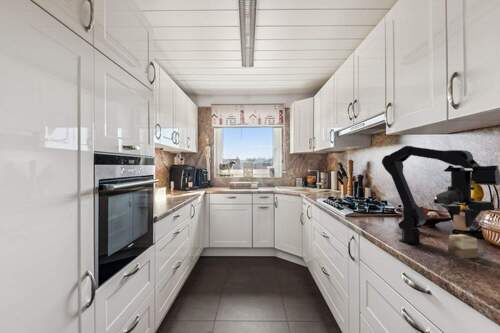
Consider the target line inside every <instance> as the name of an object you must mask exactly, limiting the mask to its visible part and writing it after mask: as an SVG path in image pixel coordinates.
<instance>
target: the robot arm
mask: <svg viewBox="0 0 500 333" xmlns="http://www.w3.org/2000/svg"><path fill="white" fill-rule="evenodd" d="M410 156H413V157H419V158H420V157H421V158H426V159H433V160H439V161H441V162H443V163H445V164H448V166H447V167H446V168H445V169H444V170H443V172H444V173H445V172H447V173H449V172H450V185H449V186H447V190H446V191H442V192H440V193H438V194H436V195H435V197H433V203H434V204H438V205H440V206H441V207H443V208H444V209H446V210H447V212H448V215H449V216H450V219H451V221H452V222H453V215H454V214H460V213H461V210H462V212H463V214H464V215H465V224H466V228H470V229H471V226H472V225H473V224H474V221H475V220H476V219H477V217H478V216H479V215H480V214H481V213H482V212H486V211H487V212H489V211H490V212H491V211H495V204H494V203H493V202H492V201H486V200H476V199H475V198H473V197H472V191H474V190H475V187H474V186H472V182H473V183H475V185H477V186H478V185H480V186H497V187H498V186H500V170H499V166H498V165H480V164H479V163H478V162H477V161H476V160H475V159H474V155H473V154H472V152H471V151H468V150H463V149H461V150H459V149H456V150H455V149H452V150H451V149H449V150H448V149H447V150H441V149H440V150H439V149H433V148H432V149H431V148H425V147H417V146H413V145H404V146H403V147H401V148H399V149H397V150H395V151H394V152H392V153H390V154H387V155H384V157H383V158H382V160H381V165H382V166H383V168H384V169H385V171H386V172H388V174H389V175H390V176H391V179H392V181H393V184H394V186H395V188H396V191H397V193H398V197H399V199H400V201H401V203H402V205H403V212H402V217H403V216H404V219H403V218H402V220H400V221H399V222H398V223H397V224H398V225H397V226H398V228H399V229H400V230H401V238H399V239H398V241H399V242H401V243H404V244H406V245H409V246H411V245H412V246H413V245H423V242H422V241H421V238H420V237H421V235H420V229H421V228H422V226H423V225H424V224H425V223H426V221H427V216H428V214H426V212H425V208H424V206H419V205H418V204H417V203H416V201H415V199H414V196H413V194H412V191H411V189H410V187H409V185H408V182H407V179H406V177H405V174H404V163H403V162H405V161H407V160H408V159H409V158H410ZM454 166H456V167H454ZM458 166H459V167H458ZM466 169H467V170H466ZM470 169H472V170H470ZM462 206H463V207H466V208H462Z"/></svg>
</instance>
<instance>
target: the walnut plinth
mask: <svg viewBox="0 0 500 333" xmlns="http://www.w3.org/2000/svg"><path fill="white" fill-rule="evenodd" d="M447 253H448V254H450V255H454V256H455V257H459V258H461V259H473V258H474V259H475V258H479V249H478V247H477V248H473V249H462V248H459V247H456V246H453V245H450V244H449V243H447Z"/></svg>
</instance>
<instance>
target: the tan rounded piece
mask: <svg viewBox="0 0 500 333" xmlns="http://www.w3.org/2000/svg"><path fill="white" fill-rule="evenodd" d="M452 223H453V224H452V225H453V229H454V230H458V231H470V229H471V227H470V228H466V224H465V214H454V215H453V221H452Z"/></svg>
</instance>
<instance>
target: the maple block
mask: <svg viewBox="0 0 500 333" xmlns="http://www.w3.org/2000/svg"><path fill="white" fill-rule="evenodd" d="M448 238H449V239H448V240H449V243H448V244H450V245H453V246H456V247H459V248H462V249H473V248H478V238H476V237H473V236H470V235H466V234H449V236H448Z"/></svg>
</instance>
